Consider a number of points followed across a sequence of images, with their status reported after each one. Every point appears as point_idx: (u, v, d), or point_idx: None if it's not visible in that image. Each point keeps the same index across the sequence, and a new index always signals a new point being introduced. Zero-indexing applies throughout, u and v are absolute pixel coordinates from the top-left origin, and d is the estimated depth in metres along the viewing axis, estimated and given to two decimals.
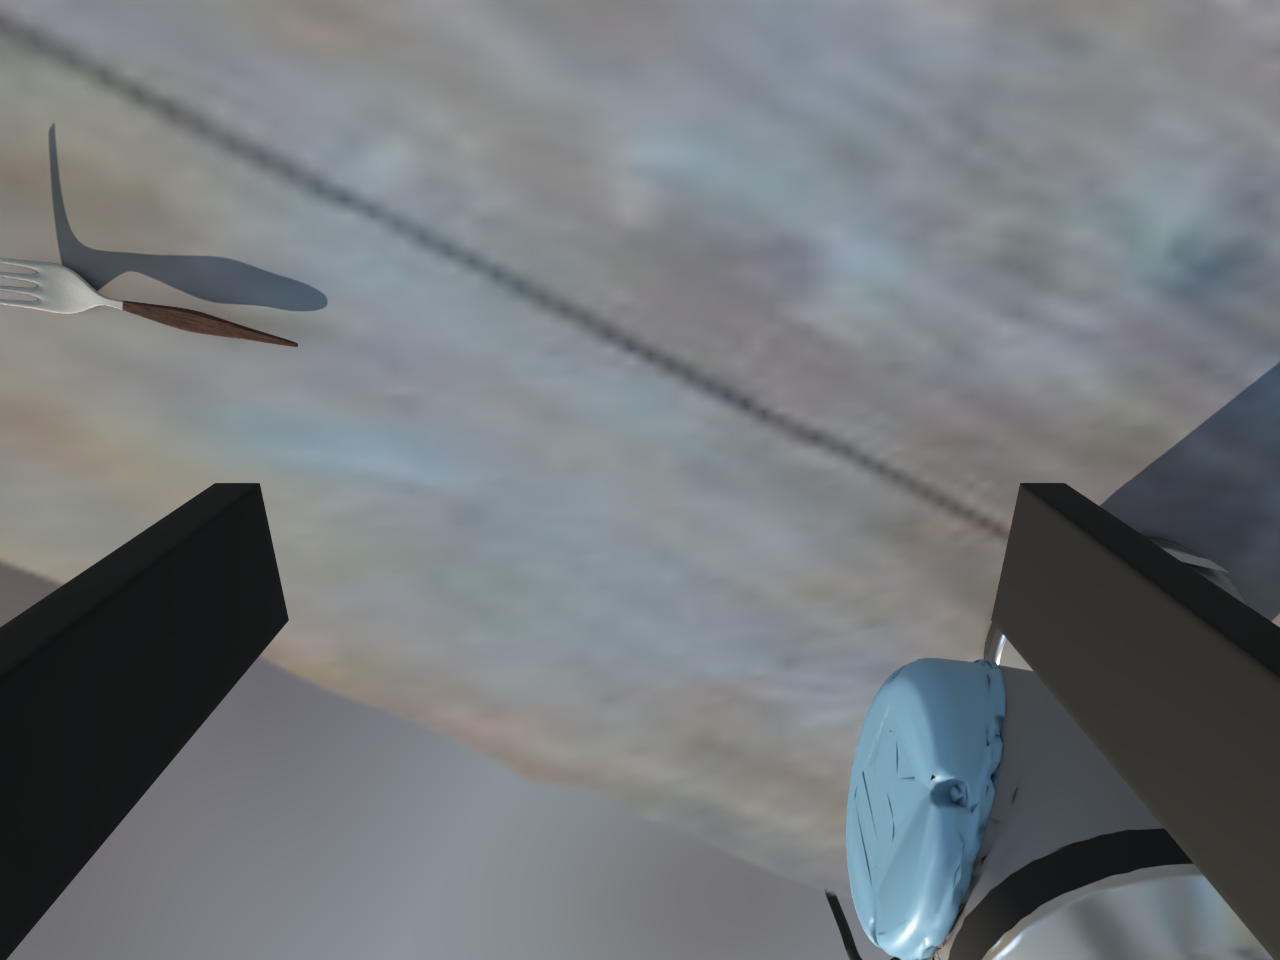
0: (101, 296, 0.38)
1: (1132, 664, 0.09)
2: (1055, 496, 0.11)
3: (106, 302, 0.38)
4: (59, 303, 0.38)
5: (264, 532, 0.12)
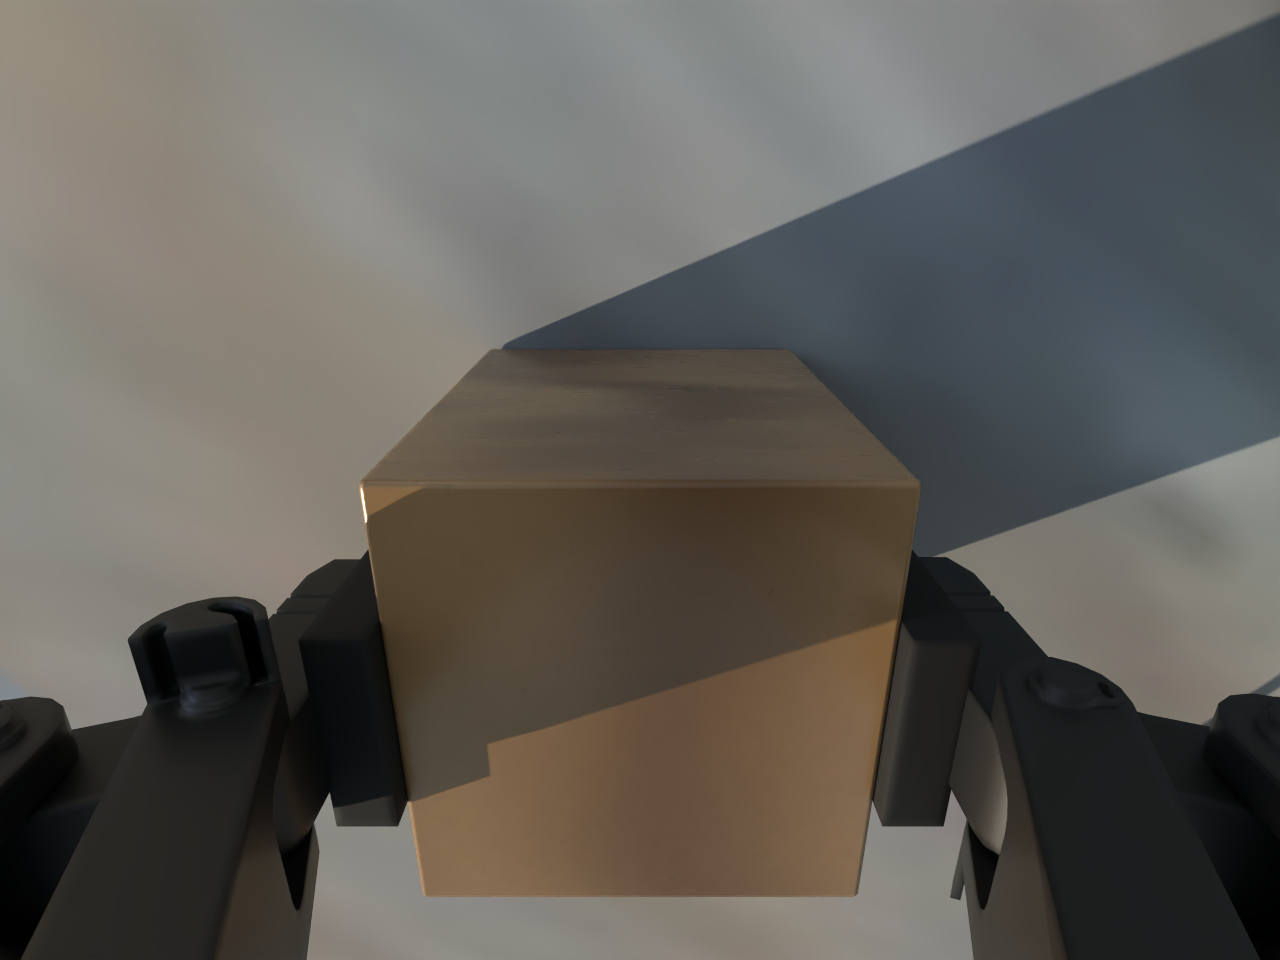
0: None
1: None
2: None
3: None
4: None
5: None
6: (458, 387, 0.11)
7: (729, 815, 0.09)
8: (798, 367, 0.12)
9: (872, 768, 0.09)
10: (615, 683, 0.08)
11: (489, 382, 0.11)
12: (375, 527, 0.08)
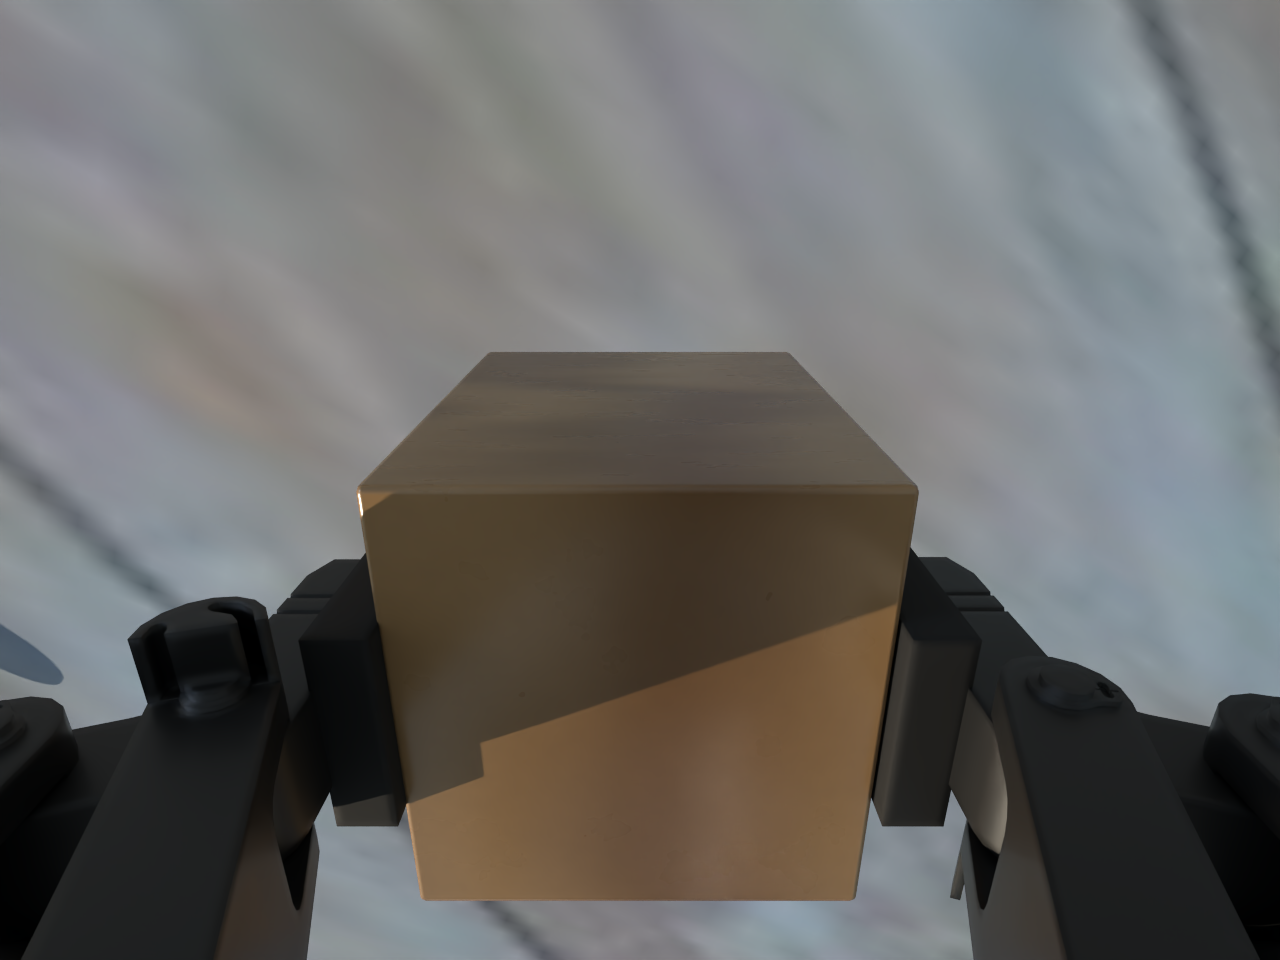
0: None
1: None
2: None
3: None
4: None
5: None
6: (456, 391, 0.11)
7: (727, 819, 0.09)
8: (796, 370, 0.12)
9: (870, 772, 0.09)
10: (612, 687, 0.08)
11: (487, 386, 0.11)
12: (372, 533, 0.08)
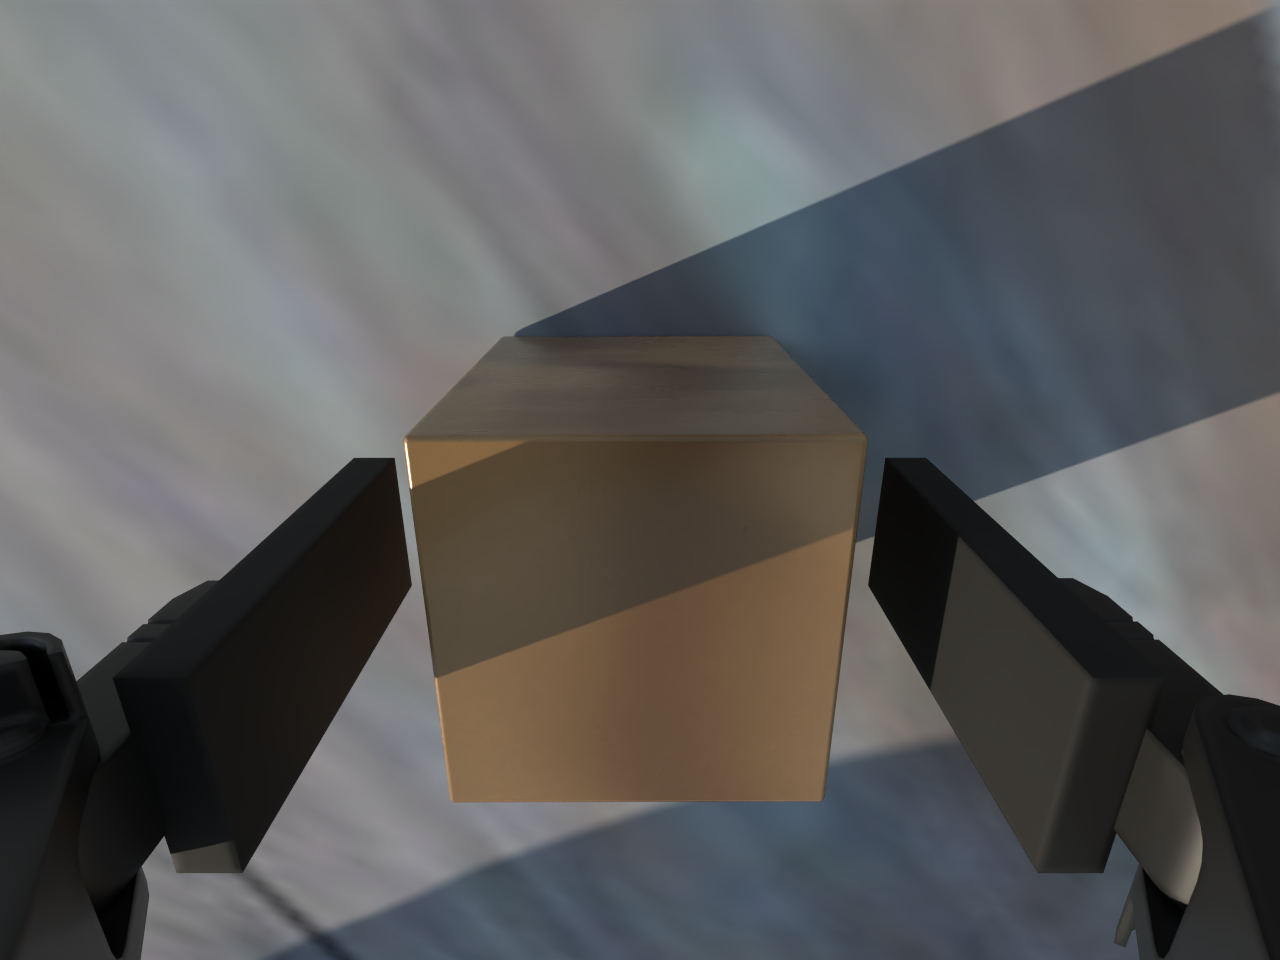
0: None
1: (949, 612, 0.10)
2: (911, 468, 0.13)
3: None
4: None
5: (397, 502, 0.13)
6: (477, 367, 0.13)
7: (712, 727, 0.11)
8: (777, 350, 0.14)
9: (833, 685, 0.10)
10: (615, 610, 0.10)
11: (504, 363, 0.13)
12: (416, 475, 0.09)
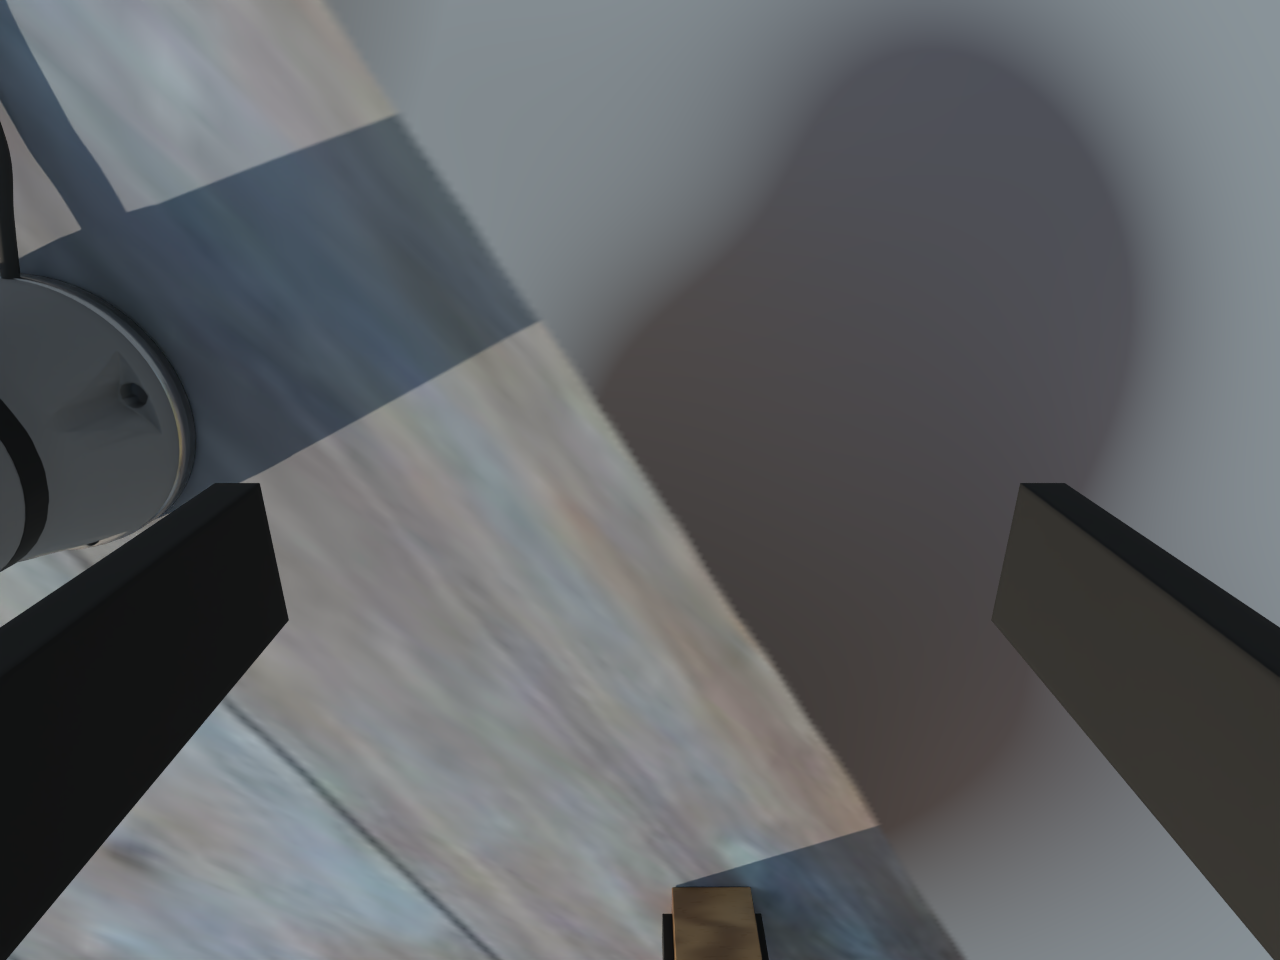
0: None
1: (1132, 664, 0.09)
2: (1055, 496, 0.11)
3: None
4: None
5: (264, 532, 0.12)
6: (675, 925, 0.51)
7: None
8: (750, 907, 0.53)
9: None
10: None
11: (681, 921, 0.52)
12: None
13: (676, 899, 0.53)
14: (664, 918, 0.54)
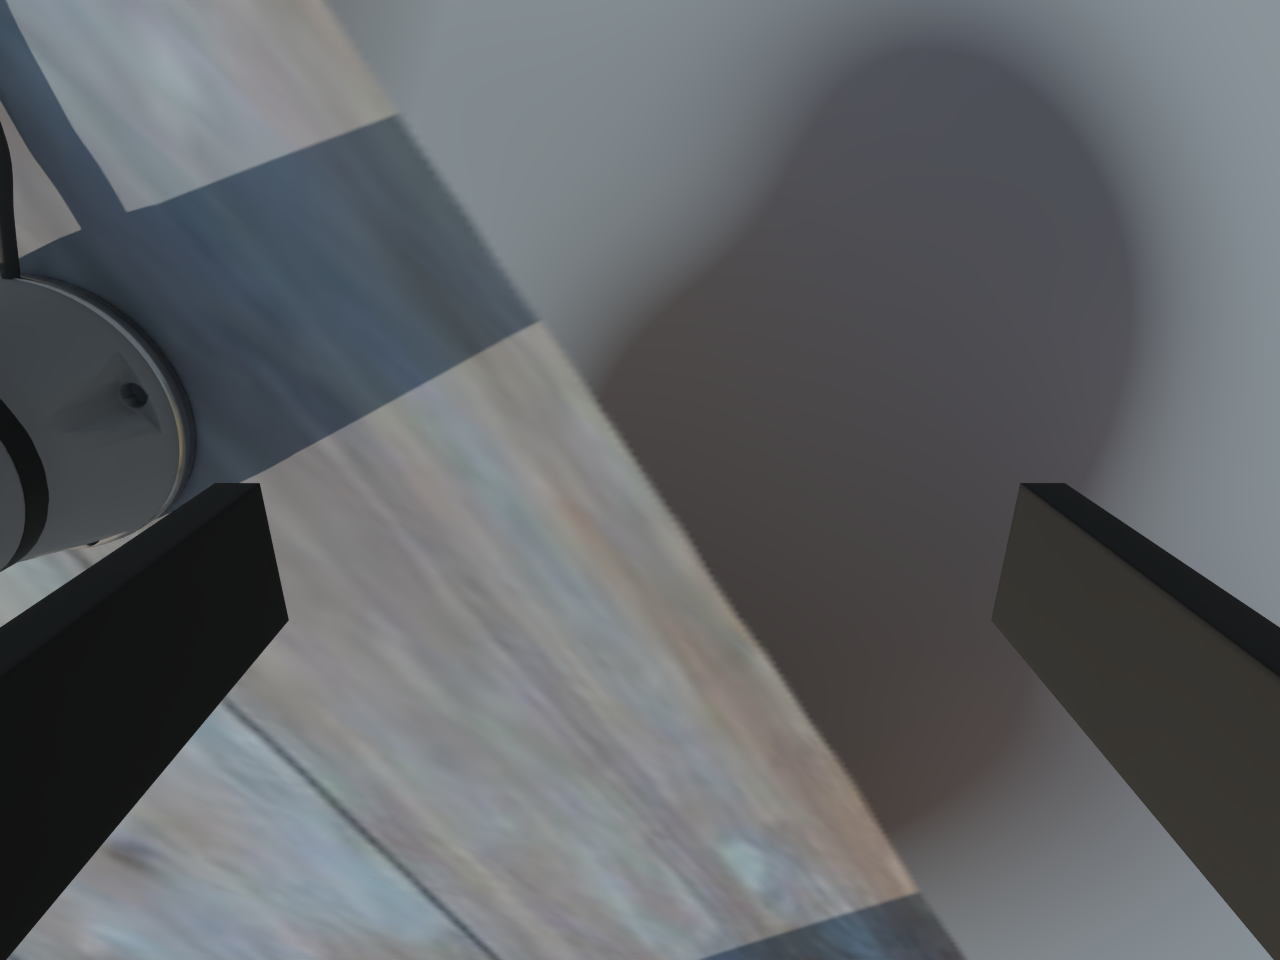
0: None
1: (1132, 664, 0.09)
2: (1055, 496, 0.11)
3: None
4: None
5: (264, 532, 0.12)
6: None
7: None
8: None
9: None
10: None
11: None
12: None
13: None
14: None
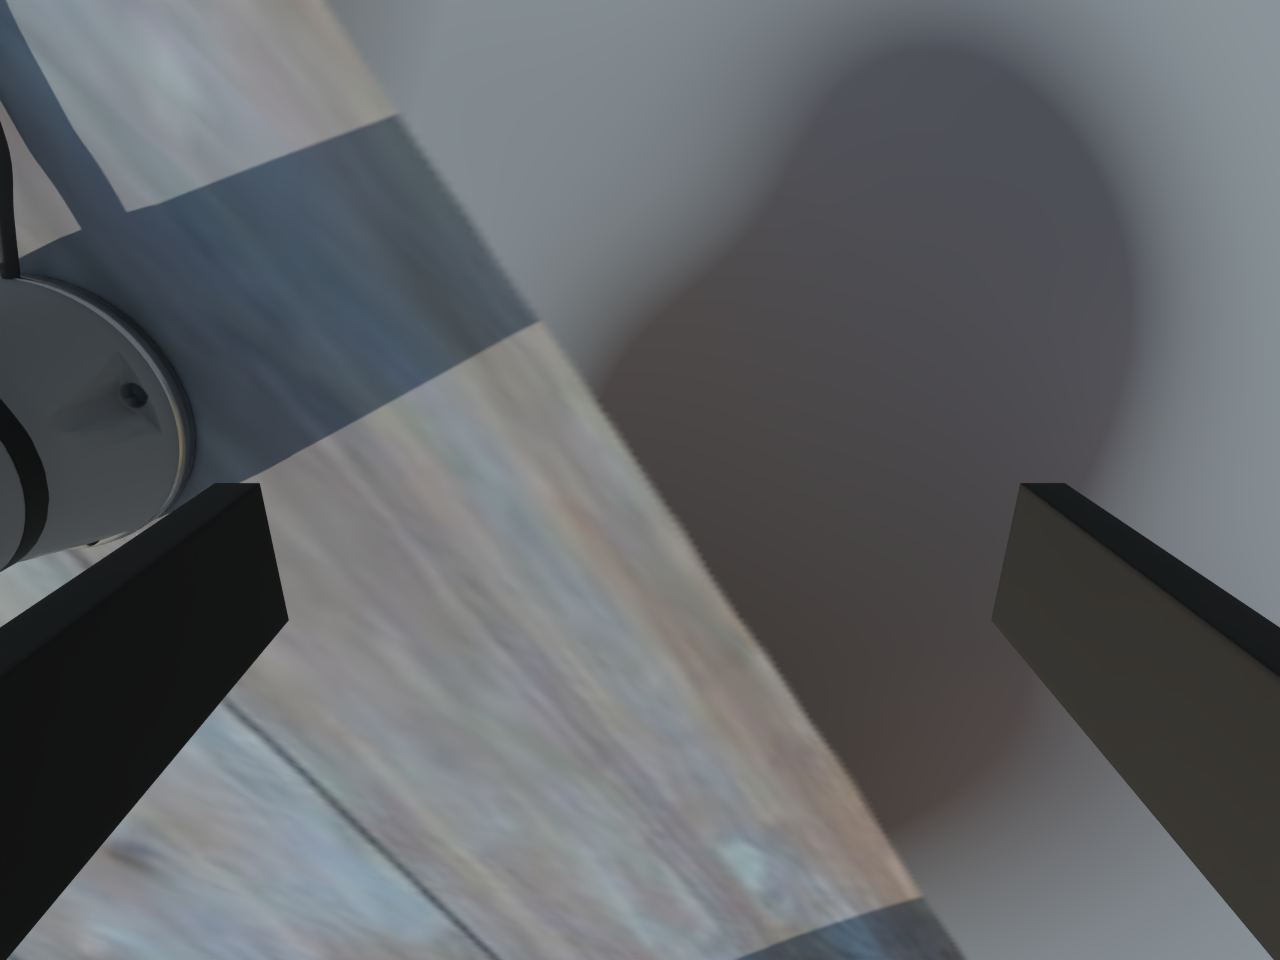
0: None
1: (1132, 664, 0.09)
2: (1055, 496, 0.11)
3: None
4: None
5: (264, 532, 0.12)
6: None
7: None
8: None
9: None
10: None
11: None
12: None
13: None
14: None
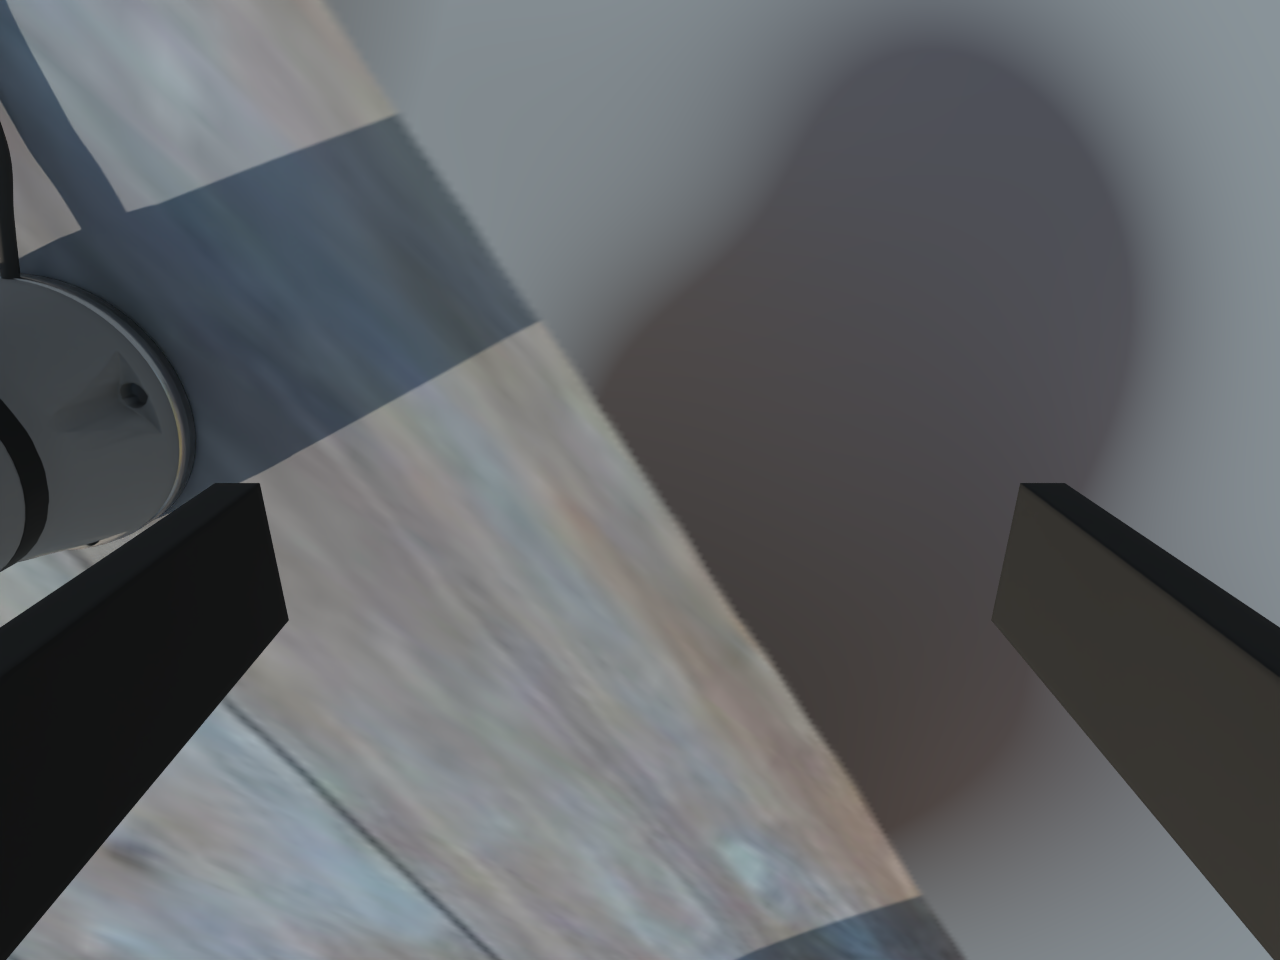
0: None
1: (1132, 664, 0.09)
2: (1055, 496, 0.11)
3: None
4: None
5: (264, 532, 0.12)
6: None
7: None
8: None
9: None
10: None
11: None
12: None
13: None
14: None
